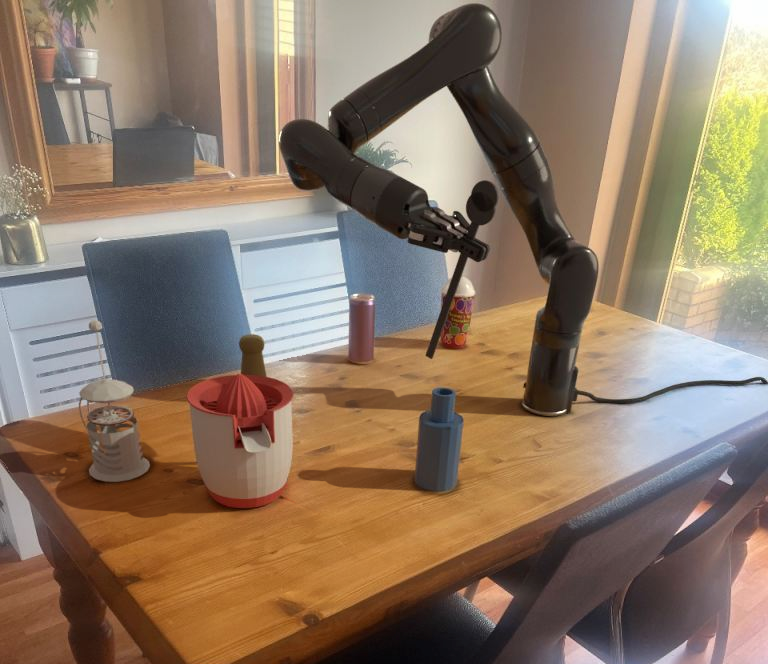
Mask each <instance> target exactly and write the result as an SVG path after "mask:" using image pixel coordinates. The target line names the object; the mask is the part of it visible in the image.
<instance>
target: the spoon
mask: <svg viewBox="0 0 768 664" xmlns="http://www.w3.org/2000/svg"><path fill="white" fill-rule="evenodd" d="M499 196H500V195H499V191H498V187H497V186H496V185H495V184H494V182H492V181H490V180H486V179H485V180H480V181H478V182H477V183H475V185H474V186H473V187H472V189H471V192H470V195H469V196H468V198H467V201H466V204H465V212H466V216H467V218H468V219H469V221H470V223H469V224H470V227H469V230H468V233H467V235H466V237H468V238H470V239H472V240H474V239H475V238H477V237H476V236H477V233H478V231H479V228H480V226H485V225H488V224H489V223H490V222H491V221H492V220H493V219H494V217H495V215H496V209H497V208H496V207H497V205H498V203H499ZM468 259H469V257H467V256H465V255H463V254H461V253H460V252H459V256H458V259H457V262H456V265H455V268H454V271H453V274H452V277H451V278H452V279H451V282H450V285H449V288H448V291H447V294H446V297H445V300H444V303H443V306H442V308H441V307H440V312H439V314H438V317H437V320H436V322H435V323H436V324H435V326H434V329H433V331H432V335H431V338H430V341H429V344H428V347H427V350H426V353H425V357H427V358H428V359H430V360H432V359H434V356H435V353H436V350H437V347H438V345H439V342H440V338H441V333H442V330H443V328H444V325H445V322H446V319H447V316H448V313H449V311H450V308H451V305H452V302H453V299H454V296H455V293H456V291H457V288H458V285H459V282H460V279H461V276H463V274H464V270H465V268H466V265H467V262H468Z"/></svg>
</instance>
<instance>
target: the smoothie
mask: <svg viewBox="0 0 768 664" xmlns="http://www.w3.org/2000/svg"><path fill="white" fill-rule="evenodd" d="M451 279H452V277H450V278H448V280H446V282H445V283H444V285H443V287H442V288H441V290H440V292H441V296H440V297H441V299H440V302H441V303H440V305H441V306H440V309H441V308H442V306H443V303H444V300H445V297H446V294H447V291H448V288H449V285H450V282H451ZM476 292H477V291H476V290H475V288H474V284H473V283H472V281H471V280H470V279H469V278H467V277H466V276H464V275H462V276H461V279H460V282H459V285H458V288H457V291H456V293H455V296H454V299H453V302H452V305H451V308H450V311H449V313H448V316H447V319H446V322H445V325H444V328H443V330H442V333H441V336H440V339H439V341H440V342H441V345H442V346H443V347H445V348H447V349H451V350H460V349H463V348H465V345H466V343H467V342H468V338H469V332H470V326H471V320H472V315H473V307H474V304H475V303H474V302H475V297H476V296H475V295H476Z"/></svg>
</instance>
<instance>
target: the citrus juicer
mask: <svg viewBox="0 0 768 664" xmlns="http://www.w3.org/2000/svg"><path fill="white" fill-rule="evenodd" d="M293 399H294V391H293V390H292V387H290V386H289V384H287V383H285V382H283V381H282V380H279V379H276V378H274V377H273V378H272V377H268V376H267V377H264V376H257V375H242V374H241V373H237V374H233V375H232V374H231V375H230V374H229V375H223V376H217V377H213V378H208V379H205V380H202V381H201V382H199V383H197V384H195V385H193V386H192V387H190V389H189V390H188V392H187V395H186V400H187V403H188V404H189V413H190V420H191V431H192V440H193V449H194V455H195V460H196V465H197V467H198V471H199V474H200V476H201V478H202V481H203V484H204V487H205V488H206V490H207V492H208V493H209V495H210V496H211V498H212V500H214V501H215V502H217V503H219V504H220V505H223V506H226V507H227V508H236V509H237V508H238V509H250V508H258V507H262V506H265V505H268V504H271V503H273V502H275V501H276V500H277V499H279V498H280V496H281V495H282V494H283V492H284V490H285V487H286V486H287V482H288V480H289V474H290V470H291V467H292V460H293V448H294V447H293V441H294V440H293V407H292V406H293V405H292V400H293Z"/></svg>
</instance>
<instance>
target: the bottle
mask: <svg viewBox="0 0 768 664" xmlns="http://www.w3.org/2000/svg"><path fill="white" fill-rule="evenodd" d="M456 394H457V393H456V391H455V390H454V389H452V388H449V387H436V388H433V389H432V390H431V399H430V400H431V401H430V410H425V411H423V412H421V413H420V415H419V418H418V427H417V428H418V429H417V431H418V432H417V440H416V442H417V443H416V455H415V456H416V457H415V458H416V459H415V468H414V469H415V470H414V482H415V484H416V485H417V486H418V487H419V488H420V489H422V490H425V491H429V492H435V493H443V492H447V491H451V490H453V489H454V488H455V487H456V486H457V485H458V477H459V468H460V458H461V450H462V440H463V431H464V422H465V419H464V417H463V416H462V415H461V414H459V413H458V412H455V404H456V397H457V395H456Z"/></svg>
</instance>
